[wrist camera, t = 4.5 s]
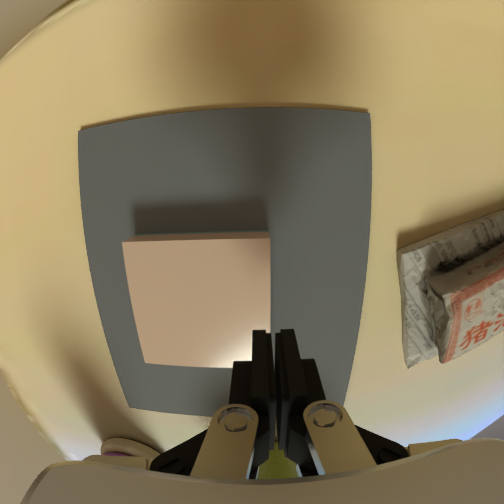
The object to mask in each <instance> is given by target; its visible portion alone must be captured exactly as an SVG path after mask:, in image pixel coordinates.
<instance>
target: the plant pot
mask: <svg viewBox="0 0 504 504" xmlns="http://www.w3.org/2000/svg"><path fill="white" fill-rule="evenodd" d="M295 464H296V463H295V462H293V461H291V460H290V459H288V458H287V457H285V456H284V450H279V449H278V443H277V442H276V441H275V443H274V450H269V459H268V460H267V461H265V462H264V463H263V464H261V465H260V466H259V473H258V478H257V479H281V478H296V477H298V474H297V470H296V465H295Z"/></svg>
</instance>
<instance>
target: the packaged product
mask: <svg viewBox="0 0 504 504" xmlns="http://www.w3.org/2000/svg"><path fill="white" fill-rule="evenodd" d="M397 263H398V272H399V282H400V293H401V308H402V336H403V352H404V359H405V363H406V366H407V368H408V369H409V368H410V367H412V366H414V365H415V364H418V363H420V362H422V361H424V360H429V359H431V358H433V357H434V356H436V355H438V354H439V361H440V362H441V363H442V364H443V363H446V362H448V361H450V360H453V359H455V358H457V357H459V356H461V355H462V354H464V353H466V352H468V351H470V350H472V349H474V348H475V347H477V346H479V345H480V344H482V343H484V342H486V341H487V340H488V339H490V338H492V337H494V336H495V335H497V334H498V333H500V332H502V331H503V330H504V209H502V210H499V211H497V212H494V213H491V214H488V215H485V216H482V217H480V218H477V219H474V220H472V221H469V222H466V223H464V224H461V225H458V226H456V227H453V228H451V229H448V230H446V231H443V232H441V233H438V234H436V235H433V236H431V237H428V238H426V239H423V240H421V241H418V242H415V243H413V244H410V245H408V246H405V247H403V248H401V249H399V250H397Z"/></svg>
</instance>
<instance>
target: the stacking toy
mask: <svg viewBox="0 0 504 504" xmlns="http://www.w3.org/2000/svg"><path fill="white" fill-rule="evenodd" d="M101 455H106V456H131V457H146V458H147V459H154V458H156V457H157V456H159V455H160V453H158V452H157V451H155V450H154V449H152V448H150V447H148V446H146V445H144V444H141V443H139V442H136V441H133V440H129V439H124V438H112V439H108V440H106V441H105V442H104V443H103V444H102V446H101Z"/></svg>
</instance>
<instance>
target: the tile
mask: <svg viewBox="0 0 504 504" xmlns="http://www.w3.org/2000/svg"><path fill="white" fill-rule="evenodd" d="M122 247H123V255H124V262H125V268H126V275H127V281H128V287H129V292H130V298H131V303H132V308H133V313H134V318H135V323H136V327H137V332H138V336H139V341H140V345H141V349H142V353H143V357H144V361H145V363H150V364H161V365H175V366H191V367H216V368H233V361H252V330H266V333H270V310H271V274H270V234H269V230H262V231H216V232H182V233H154V234H135V235H133V236H132V237H130V238H128V239H126V240H125V241H123V242H122Z"/></svg>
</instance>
